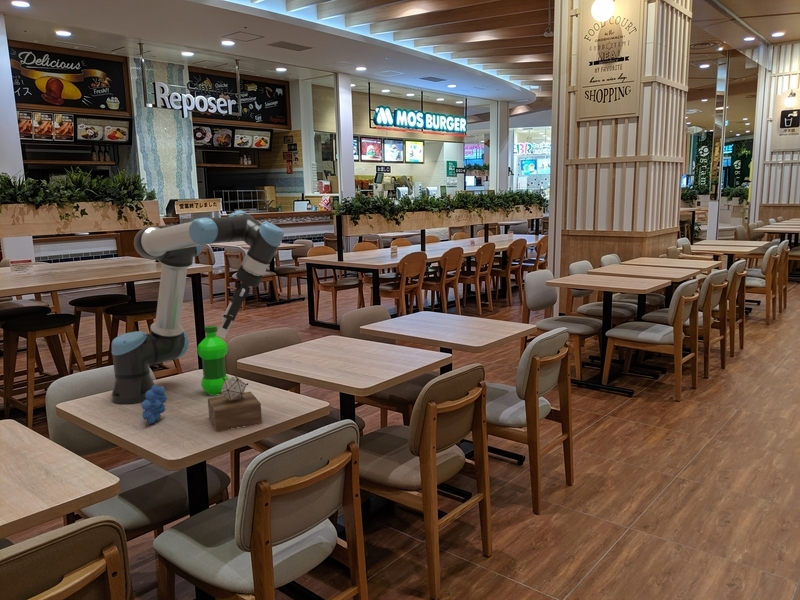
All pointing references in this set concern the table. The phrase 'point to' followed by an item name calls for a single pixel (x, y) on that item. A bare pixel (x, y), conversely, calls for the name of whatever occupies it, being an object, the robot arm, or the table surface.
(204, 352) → the plastic bottle
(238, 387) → the white wireframe polyhedron
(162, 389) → the grapes
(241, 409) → the walnut block
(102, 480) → the table surface
